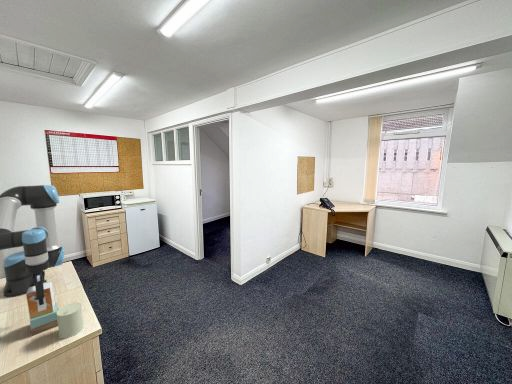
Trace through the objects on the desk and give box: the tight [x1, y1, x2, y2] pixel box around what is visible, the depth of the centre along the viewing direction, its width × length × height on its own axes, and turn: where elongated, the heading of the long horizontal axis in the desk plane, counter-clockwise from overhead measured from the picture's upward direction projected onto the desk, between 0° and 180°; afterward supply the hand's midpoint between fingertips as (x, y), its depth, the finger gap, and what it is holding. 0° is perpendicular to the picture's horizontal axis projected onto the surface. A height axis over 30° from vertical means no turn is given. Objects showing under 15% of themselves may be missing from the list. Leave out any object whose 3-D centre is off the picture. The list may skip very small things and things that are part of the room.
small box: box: [25, 281, 56, 320], centre depth 101 cm, size 8×6×13 cm
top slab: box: [29, 302, 58, 329], centre depth 103 cm, size 9×9×4 cm
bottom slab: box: [29, 307, 60, 337], centre depth 104 cm, size 10×10×4 cm
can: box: [56, 302, 85, 339], centre depth 100 cm, size 9×9×12 cm
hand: (42, 302), depth 102 cm, fingers open, 13 cm apart
